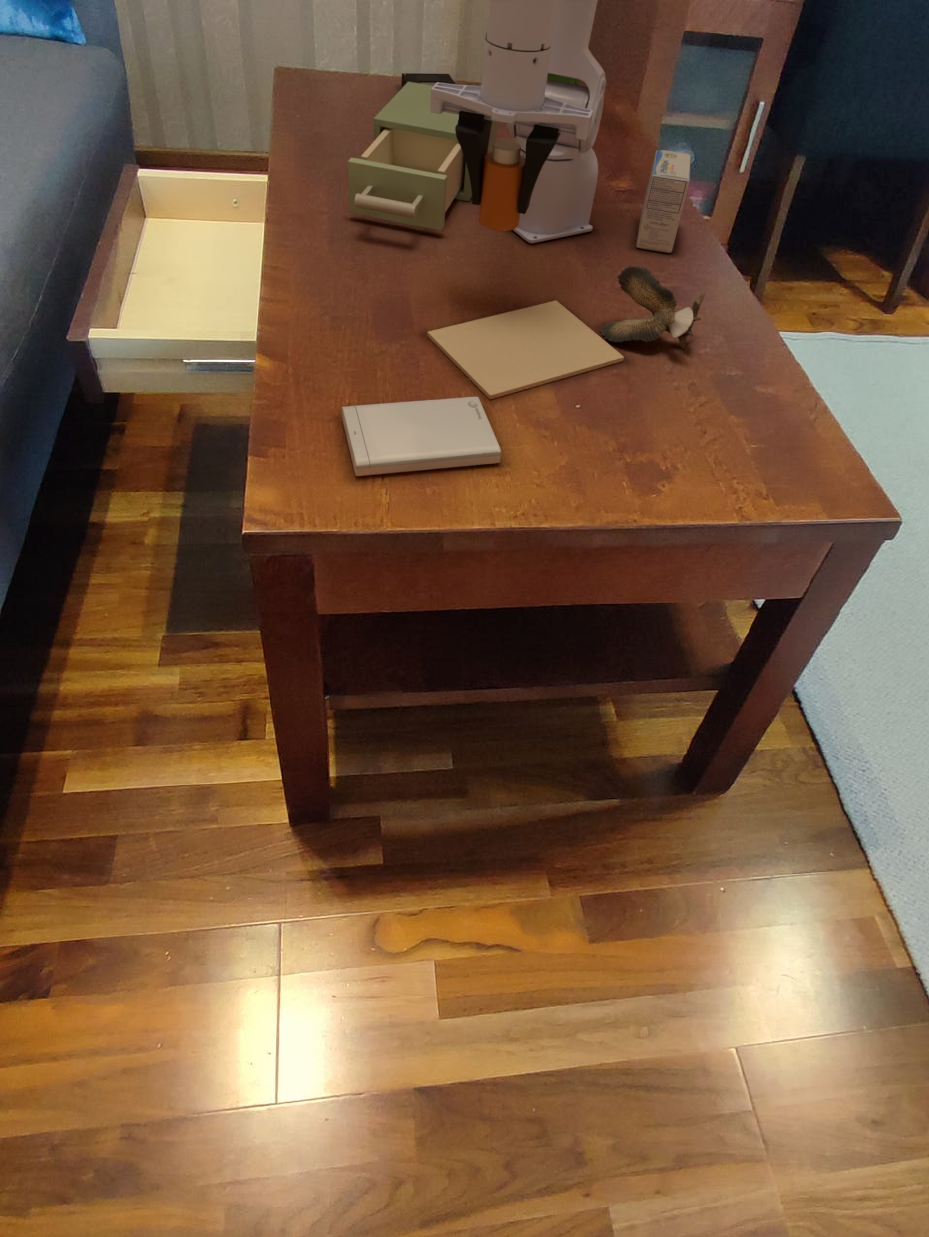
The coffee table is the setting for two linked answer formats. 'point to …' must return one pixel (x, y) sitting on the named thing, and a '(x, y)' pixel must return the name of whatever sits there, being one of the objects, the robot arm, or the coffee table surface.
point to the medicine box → (664, 201)
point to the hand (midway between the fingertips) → (500, 205)
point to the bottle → (501, 186)
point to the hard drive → (419, 435)
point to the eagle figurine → (658, 302)
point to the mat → (524, 348)
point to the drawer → (406, 178)
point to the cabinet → (424, 122)
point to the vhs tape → (426, 78)
